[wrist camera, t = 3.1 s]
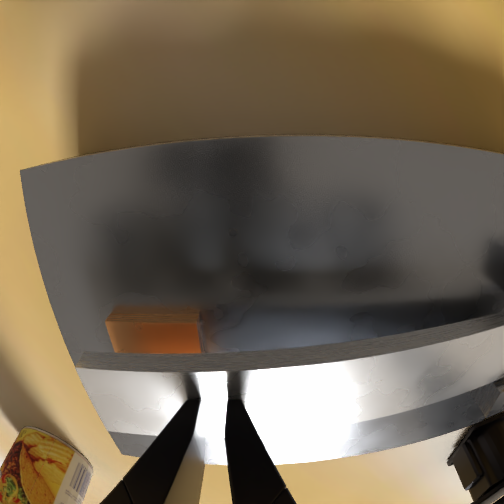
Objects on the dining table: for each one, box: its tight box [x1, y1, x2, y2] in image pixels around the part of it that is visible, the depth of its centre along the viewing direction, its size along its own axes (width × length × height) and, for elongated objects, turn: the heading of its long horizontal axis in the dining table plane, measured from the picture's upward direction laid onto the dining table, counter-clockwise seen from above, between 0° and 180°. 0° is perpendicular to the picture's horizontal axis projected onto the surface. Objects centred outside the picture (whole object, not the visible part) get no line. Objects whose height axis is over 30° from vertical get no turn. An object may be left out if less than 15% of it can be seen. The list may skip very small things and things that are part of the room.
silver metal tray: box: [20, 135, 504, 465], centre depth 11 cm, size 20×14×6 cm
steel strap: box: [75, 311, 504, 437], centre depth 9 cm, size 16×3×1 cm, turn 92°
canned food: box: [0, 427, 93, 504], centre depth 15 cm, size 8×8×12 cm
